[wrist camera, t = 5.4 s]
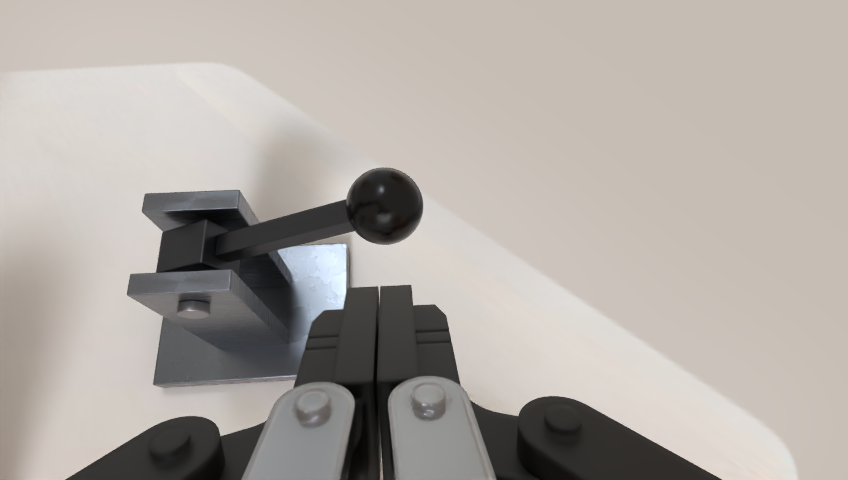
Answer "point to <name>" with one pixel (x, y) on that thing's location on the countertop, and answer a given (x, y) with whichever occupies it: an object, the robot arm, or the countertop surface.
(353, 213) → the tap lever
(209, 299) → the bracket
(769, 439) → the countertop surface
